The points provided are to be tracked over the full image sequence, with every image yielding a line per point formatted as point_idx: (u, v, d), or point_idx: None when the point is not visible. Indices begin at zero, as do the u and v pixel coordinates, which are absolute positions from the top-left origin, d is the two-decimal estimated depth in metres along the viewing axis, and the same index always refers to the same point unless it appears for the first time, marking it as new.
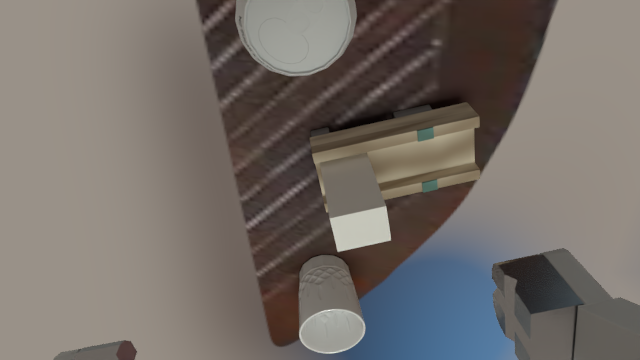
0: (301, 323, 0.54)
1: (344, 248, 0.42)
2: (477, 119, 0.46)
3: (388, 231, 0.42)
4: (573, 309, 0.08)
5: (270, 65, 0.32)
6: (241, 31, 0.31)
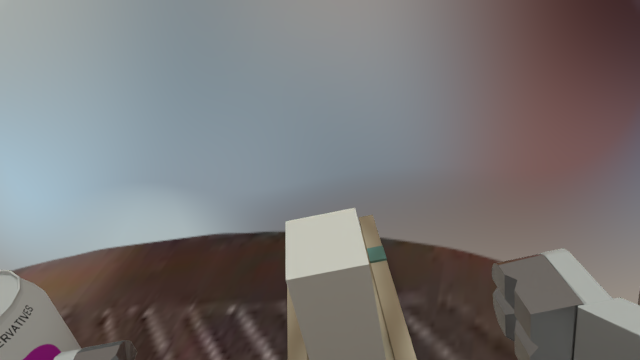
0: None
1: (361, 255, 0.22)
2: None
3: (335, 212, 0.26)
4: (573, 309, 0.08)
5: None
6: None
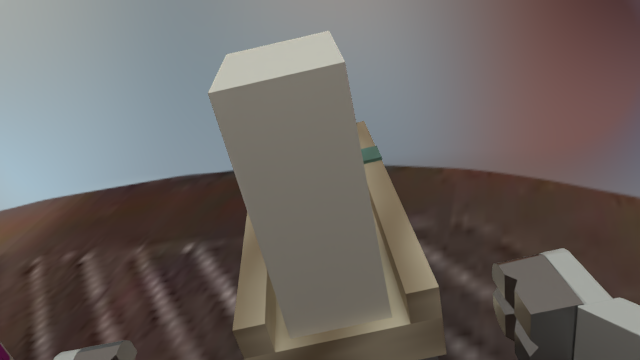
0: None
1: (333, 58, 0.14)
2: None
3: (300, 37, 0.17)
4: (573, 309, 0.08)
5: None
6: None
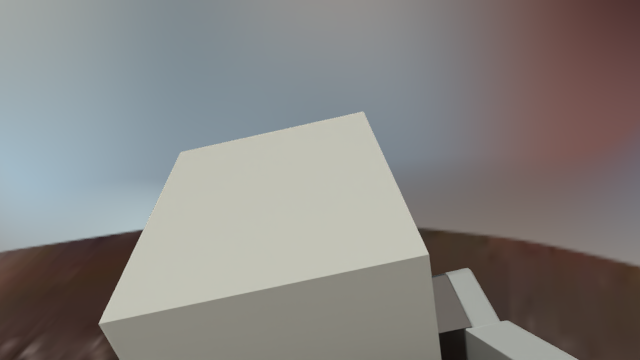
0: None
1: (395, 224, 0.06)
2: None
3: (312, 124, 0.10)
4: (462, 332, 0.08)
5: None
6: None
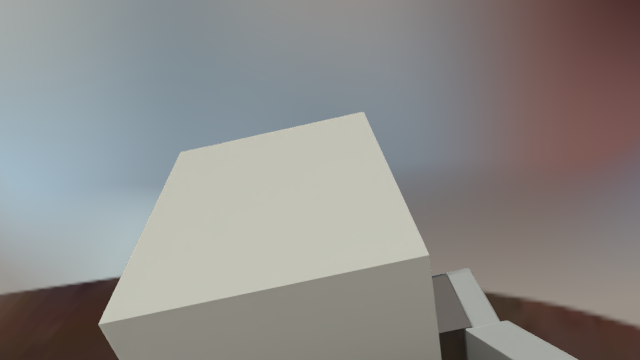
0: None
1: (395, 226, 0.06)
2: None
3: (312, 124, 0.10)
4: (462, 332, 0.08)
5: None
6: None
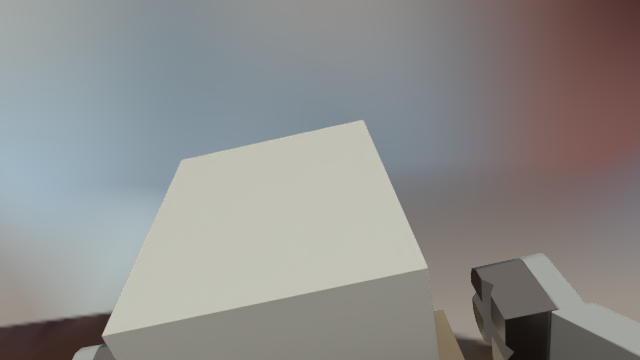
0: None
1: (394, 237, 0.06)
2: None
3: (312, 133, 0.10)
4: (547, 314, 0.08)
5: None
6: None
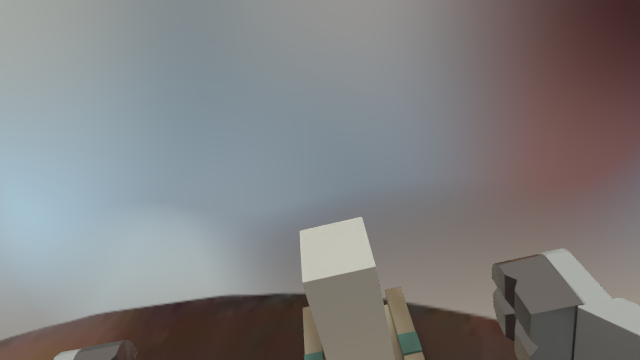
0: None
1: (369, 259, 0.25)
2: (306, 308, 0.35)
3: (344, 221, 0.29)
4: (573, 309, 0.08)
5: None
6: None
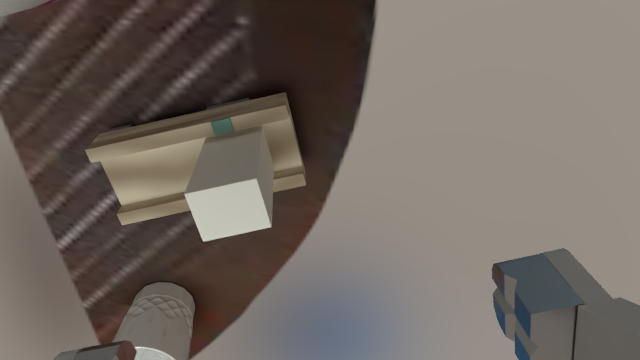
0: None
1: (211, 236, 0.33)
2: (284, 108, 0.38)
3: (265, 214, 0.32)
4: (573, 309, 0.08)
5: None
6: None
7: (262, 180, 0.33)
